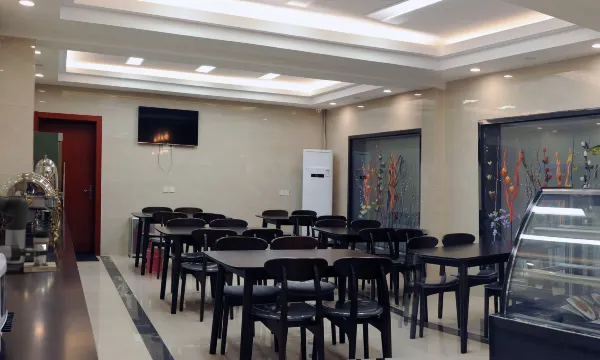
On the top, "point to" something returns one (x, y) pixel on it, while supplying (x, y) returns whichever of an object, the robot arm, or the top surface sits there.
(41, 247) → the grey cylinder
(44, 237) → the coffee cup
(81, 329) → the top surface
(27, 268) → the mounting board
